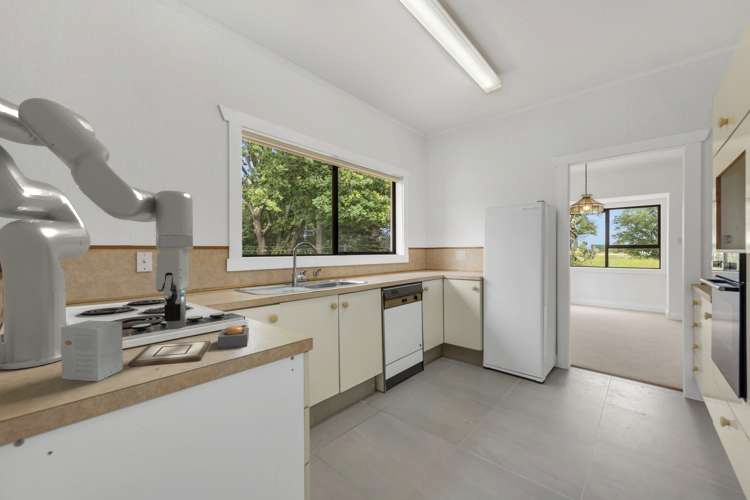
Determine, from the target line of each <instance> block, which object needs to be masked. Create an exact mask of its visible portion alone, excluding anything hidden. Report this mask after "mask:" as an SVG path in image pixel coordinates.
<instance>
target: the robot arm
mask: <svg viewBox="0 0 750 500" xmlns="http://www.w3.org/2000/svg"><path fill="white" fill-rule="evenodd" d="M0 139H3V140H7V141H10V142H14V143H16V144H21V145H27V146H37V147H44V148H45V147H46V148H47V149H48V150H49V151H50V152H51V153H52V154H53V155H55V156H56V158H58V159H59V160H60V161H61V162H62V163H63V164H64V165H65V166H66V167H68V169H69V170H70V174H71V177H72V179H73V181H74V184H75V185H76V186H77V188H78V189H79V190H80V191H81V192H82V194H83V195H85V197H87V198H88V199H89V200H90V201H91V202H92V203H93V204H94V205H95V206H97V207H98V208H99V209H100V210H101V211H102V212H104V213H106V214H107V215H109V216H110V217H112V218H114V219H117V220H121V221H132V222H133V221H134V222H140V223H152V222H155V249H156V250H158V251H157V252H158V253H157V260H156V276H155V278H156V279H155V290H156V292H158V293H161V292H163V296H164V297H163V298H164V299H163V300H164V302H163V304H164V306H163V307H164V321H165V323H166V322H168V321H179V320H181V304H179V293H180V290H182V289H185V290H186V288H187V287H188V286H189V285H190V251H189V250H193V249H194V244H193V243H194V236H193V234H194V229H193V228H194V227H193V225H194V223H193V222H194V219H193V217H194V216H193V215H194V212H193V211H194V210H193V208H194V207H193V206H194V205H193V202H194V201H193V197H192V195H191V194H189V193H188V192H185V191H179V190H161V191H158V192H157V193H156V192H151V191H148V190H144V189H140V188H137V187H133V186H130V185H129V183H127V182H126V181H125V180H124V179H123V178H122V177H120V175H118V174H117V173H116V172H115V171H114V170H113V168H111V166H109V164H108V161H109V159H110V157H111V155H110V151H109V149H108V148H107V147H106V146H105V145H104V144H103V143H102V142H101V141H100V140H99V139H98V138H96V131H95V129H94V127H93V125H92V123H91V122H90V121H89V120H88V119H86V118H85V117H84V116H82V115H81V114H80V113H77V112H75V111H73V110H71V109H69V108H67V107H65V106H64V105H61V103H57V102H55V101H53V100H50V99H46V98H41V97H33V98H32V97H31V98H27V99H25V100H23V101H21V103H20V104H19V105H17V104H15V103H13V102H10V101H9V100H7V99H4V98H2V97H0ZM0 218H5V219H15V220H13V221H10V222H8V223H6V224H5V225H3V226H2V227H1V228H0V266H1V274H2V293H3V341H2V342H0V370H19V369H28V368H34V367H39V366H42V365H48V364H53V363H55V362H58V361H62V360H61V327H64V326H67V299H66V298H67V293H66V292H67V290H66V289H67V288H66V283H67V282H66V275H65V271H64V270H63V266H61V263H60V261H61V260H62V261H63V260H70V259H76V258H78V257H82V256H83V255H84V254H85V253H87V251H88V250H89V249H90V245H91V236H90V233H89V231H88V229H87V227H86V225H85V224H84V222H83V221H82V218H80V216H79V214H78V213H77V211H76V209H75V208H74V206H73V204H72V203H71V201H70V200H69V198H68V196H67V195H65V193H64V192H62V190H60V189H59V188H57V187H56V186H54V185H52V184H50V183H47V182H44V181H38V180H34V179H31V178H29V177H27V176H26V175H25V174H24V173H23V172H22V171H21V169H20V168H19V166H18V165H17V163H16V162H15V160H14V159H13V157H12V155H11V154H10V152H8V151H7V149H5V148H4V147H3V146H2V145H1V144H0ZM172 289H177V291H172ZM174 293H176V297H175V295H174ZM186 304H187V301H186V294H185V312H186V313H187V307H186V306H187V305H186Z"/></svg>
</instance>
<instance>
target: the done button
mask: <svg viewBox="0 0 750 500" xmlns="http://www.w3.org/2000/svg"><path fill="white" fill-rule="evenodd" d="M242 328H243V326H241V325H231V326H227V327H226V328H225V329H226V335H236V334H242Z"/></svg>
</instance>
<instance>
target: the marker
mask: <svg viewBox="0 0 750 500" xmlns="http://www.w3.org/2000/svg"><path fill="white" fill-rule="evenodd" d="M172 291H177V289H172ZM174 295H175V297H176V293H174ZM185 295H186V288H185V289H182V290H180V293H179V304H181V320H179V321H168V322H166V321H165V328H166V330H179V329H183V328H185V327H186V325H187V324H186V320H187V319H186V318H187V317H186V315H187V311H186V312H185V300H186V298H185Z"/></svg>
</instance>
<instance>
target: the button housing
mask: <svg viewBox="0 0 750 500" xmlns="http://www.w3.org/2000/svg"><path fill="white" fill-rule="evenodd" d="M249 331H250V328H249V327H242V334H236V335H226V328H223V329H221V330H220V332H219V335H218V337H217V349H229V348H241V347H242V348H243V347H248V343H249V338H250V337H249V336H250V333H249Z"/></svg>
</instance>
